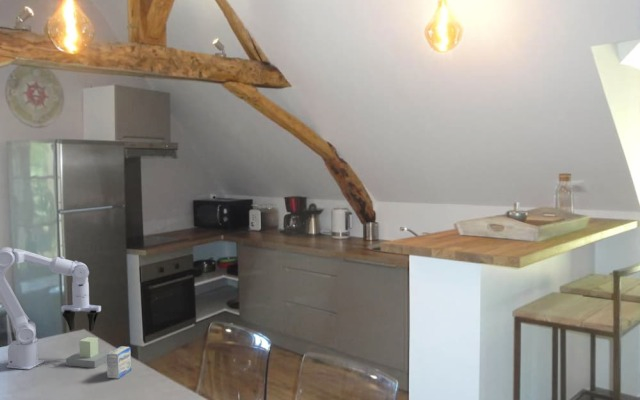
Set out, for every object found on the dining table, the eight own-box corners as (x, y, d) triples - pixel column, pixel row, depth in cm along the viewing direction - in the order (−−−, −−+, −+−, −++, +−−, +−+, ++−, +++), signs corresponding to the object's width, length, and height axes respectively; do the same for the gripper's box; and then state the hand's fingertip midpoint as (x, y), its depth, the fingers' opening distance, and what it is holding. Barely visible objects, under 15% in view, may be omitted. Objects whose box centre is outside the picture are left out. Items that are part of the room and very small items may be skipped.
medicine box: (118, 379, 178) (118, 354, 178) (106, 378, 179) (106, 353, 179) (131, 370, 186) (130, 346, 185) (120, 369, 187) (119, 345, 186)
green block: (79, 356, 192) (79, 340, 192) (87, 352, 197) (87, 337, 196) (90, 357, 191) (90, 341, 191) (98, 353, 196) (97, 337, 195)
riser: (66, 365, 191) (65, 358, 191) (84, 355, 201) (84, 349, 200) (94, 368, 188) (94, 361, 188) (111, 358, 198) (111, 351, 198)
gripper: (56, 297, 194) (57, 333, 195) (94, 297, 194) (95, 333, 195) (66, 292, 201) (67, 327, 202) (103, 293, 201) (104, 327, 202)
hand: (81, 329), depth 199 cm, fingers open, 7 cm apart
